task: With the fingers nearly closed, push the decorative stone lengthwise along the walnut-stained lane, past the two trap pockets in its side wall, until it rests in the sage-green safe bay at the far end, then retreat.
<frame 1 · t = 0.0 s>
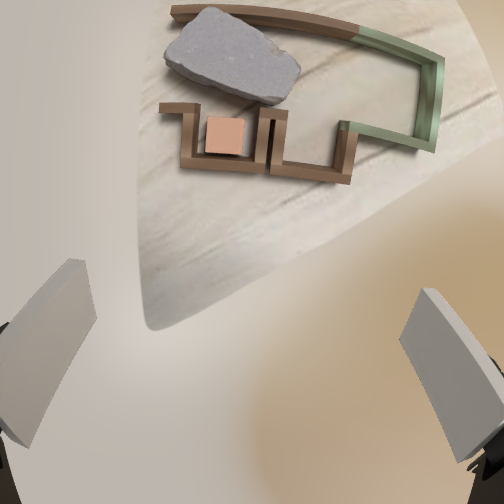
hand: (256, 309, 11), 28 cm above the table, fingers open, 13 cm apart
decorative stone: (233, 61, 30), on the table
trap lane: (305, 71, 30), on the table
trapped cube: (227, 133, 34), on the table
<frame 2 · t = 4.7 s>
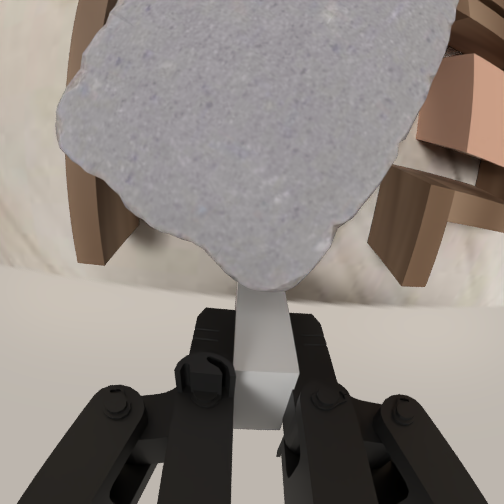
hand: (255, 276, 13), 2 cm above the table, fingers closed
decorative stone: (267, 64, 10), on the table, touching gripper
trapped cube: (450, 110, 11), on the table
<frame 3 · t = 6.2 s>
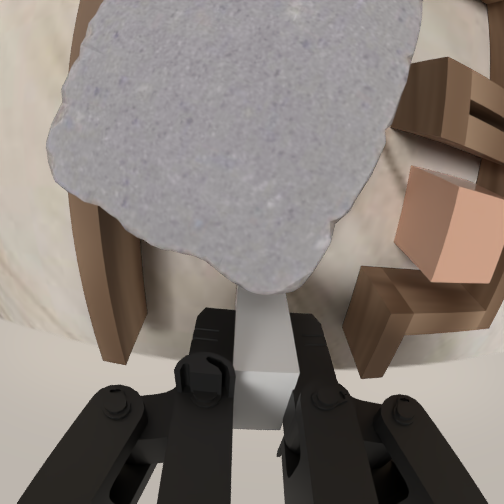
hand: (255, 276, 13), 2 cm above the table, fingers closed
decorative stone: (250, 67, 11), on the table, touching gripper
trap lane: (280, 0, 9), on the table
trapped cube: (432, 209, 13), on the table
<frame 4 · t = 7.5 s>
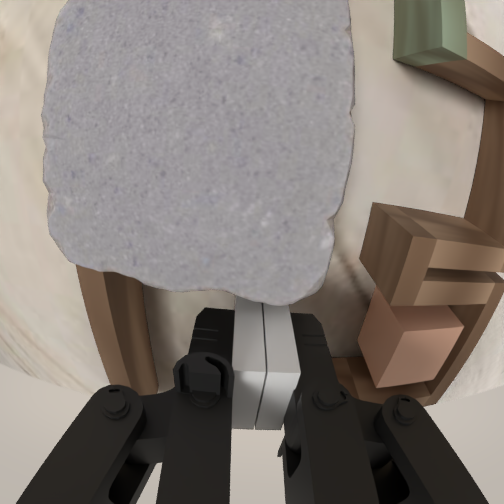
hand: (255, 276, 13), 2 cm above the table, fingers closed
decorative stone: (214, 86, 11), on the table, touching gripper
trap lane: (260, 143, 12), on the table
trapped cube: (394, 313, 16), on the table
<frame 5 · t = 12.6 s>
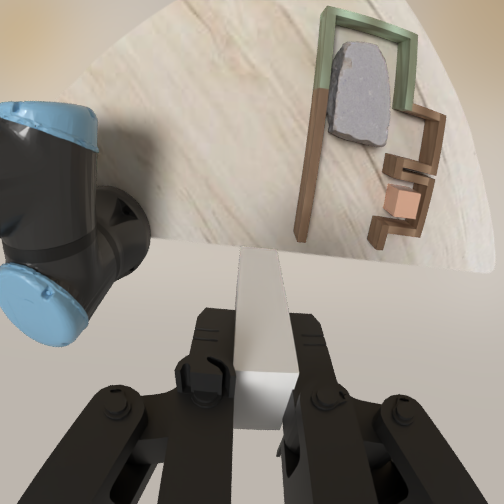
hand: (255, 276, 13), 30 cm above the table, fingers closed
decorative stone: (347, 98, 36), on the table
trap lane: (354, 132, 38), on the table
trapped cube: (396, 197, 42), on the table
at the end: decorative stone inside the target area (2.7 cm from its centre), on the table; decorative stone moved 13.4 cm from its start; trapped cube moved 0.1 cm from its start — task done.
